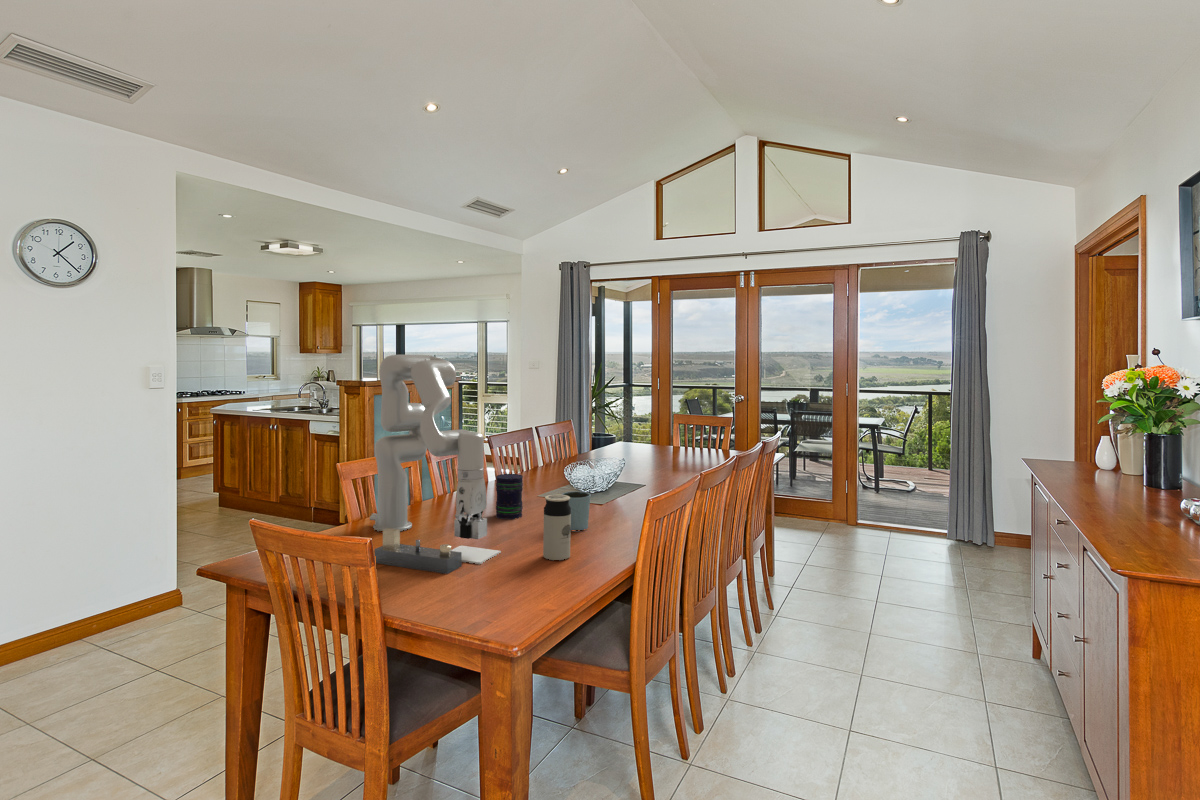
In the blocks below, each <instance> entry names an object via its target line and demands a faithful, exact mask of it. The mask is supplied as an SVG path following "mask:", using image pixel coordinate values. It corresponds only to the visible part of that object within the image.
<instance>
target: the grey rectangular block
mask: <svg viewBox="0 0 1200 800" xmlns="http://www.w3.org/2000/svg"><path fill="white" fill-rule="evenodd" d="M464 518H465V519H466V518H467V516H464ZM453 521H454V523H453V524H454V526H453V527H454V529H453V530H454V532H453V533H454V534H453V535H454V537H456V538H461V537H460V525H459V521H458V519H457V518H455V519H454V520H453ZM469 525H471V538H470V539H471V540H472V539H473V540H480V539H482V538H484V537H486V536H487V535H488V518H487V517H486V518H485V517H482V518H478V517H472V516H470V522H469Z"/></svg>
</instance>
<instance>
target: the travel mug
mask: <svg viewBox="0 0 1200 800" xmlns="http://www.w3.org/2000/svg"><path fill="white" fill-rule="evenodd" d="M544 499H545V506H544V507H543V540H542V541H543V542H542V545H543V547H542V549H543V553H542V557H543V558H545V559H546V560H548V559H549V561H554V560H559V561H564V559H565V560H567V559H569V558H570V557H571V532H572V531H571V507H570V505H569V499H570V497H569V496H567V495H561V494H549V495H545V496H544Z"/></svg>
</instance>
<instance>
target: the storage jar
mask: <svg viewBox="0 0 1200 800" xmlns="http://www.w3.org/2000/svg"><path fill="white" fill-rule="evenodd" d="M523 477H524V476H523V475H522V474H518V473H503V474H498V475H496V478H495V479H496V481H495V491H496V503H495V517H496V518H498V519H501V520H516V519H515V518H517V519H520V518H522V517H523V500H522V499H523V498H522V497H523V496H522V495H523V494H522V492H523V490H524V489H523V485H524V483H523V481H524V480H523ZM519 517H520V518H519Z"/></svg>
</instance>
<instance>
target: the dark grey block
mask: <svg viewBox="0 0 1200 800" xmlns="http://www.w3.org/2000/svg"><path fill="white" fill-rule="evenodd" d="M451 550H452V544H448V543H447V544H446V543H445V544H444V543H443V544H440V545H439V549H438V548H434V547H433V548H432V547H425V546H421V540H420V539H415V545H412V544H411V545H410V544H402V543H401V531H400V529H392V528H387V529H384V530H383V532H382V545H381V546H379V547H376V548H374V557H375V556H376V563H375V564H380V565H386V566H391V567H399V568H406V569H411V570H412V569H413V570H418V571H424V572H432V573H437V574H438V573H439V574H443V575H444V574H445V575H448V574H451V573H452V572H454V571H456V570H458V569H459V567H460V568H461V567H462V565H463V564H462V563H463V562H462V552H455V551H451Z"/></svg>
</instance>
